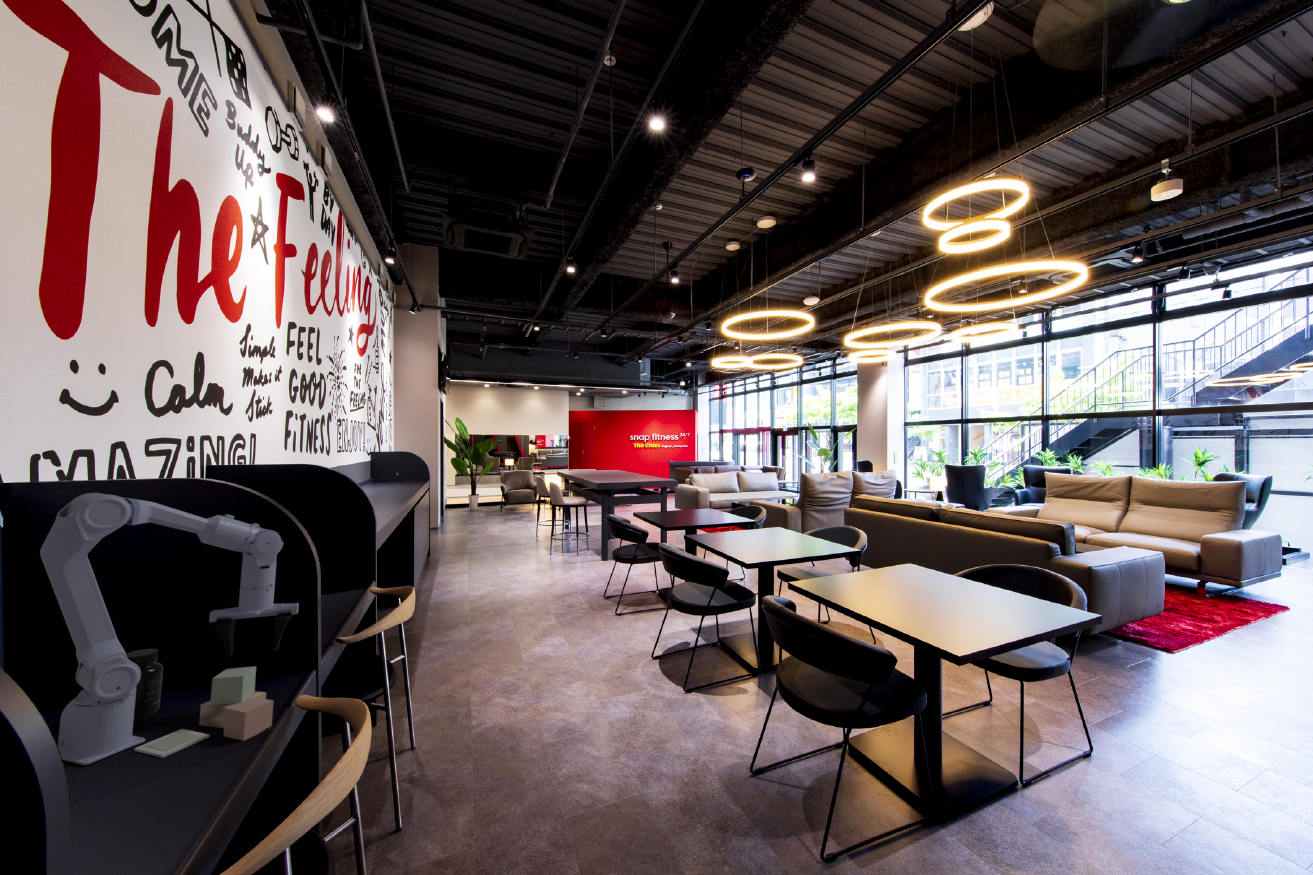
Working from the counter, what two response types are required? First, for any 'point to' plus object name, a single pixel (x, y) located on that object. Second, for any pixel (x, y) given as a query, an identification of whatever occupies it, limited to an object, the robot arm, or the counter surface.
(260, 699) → the terracotta block
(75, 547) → the robot arm
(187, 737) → the card
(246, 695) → the sage block
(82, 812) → the counter surface
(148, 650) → the supplement bottle
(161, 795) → the counter surface
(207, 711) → the maple block
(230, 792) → the counter surface
